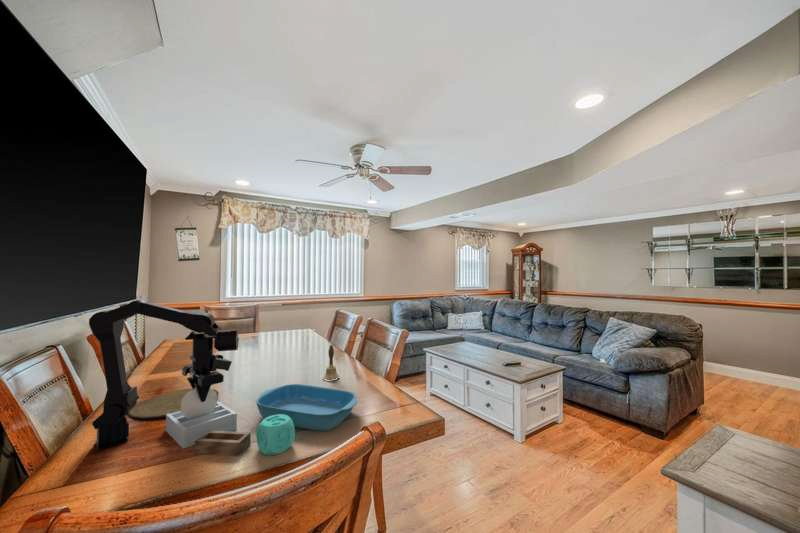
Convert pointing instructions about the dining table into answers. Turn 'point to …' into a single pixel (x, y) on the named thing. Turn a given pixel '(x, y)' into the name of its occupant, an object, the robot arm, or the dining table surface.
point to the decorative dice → (275, 434)
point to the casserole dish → (308, 405)
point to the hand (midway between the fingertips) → (201, 400)
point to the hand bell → (331, 366)
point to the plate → (197, 404)
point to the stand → (223, 442)
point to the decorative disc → (159, 405)
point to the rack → (199, 424)
